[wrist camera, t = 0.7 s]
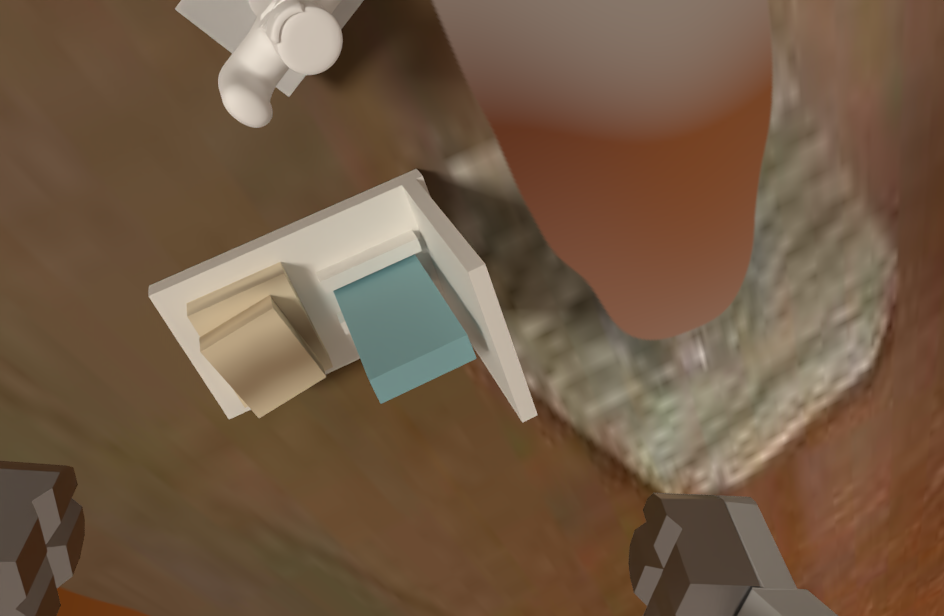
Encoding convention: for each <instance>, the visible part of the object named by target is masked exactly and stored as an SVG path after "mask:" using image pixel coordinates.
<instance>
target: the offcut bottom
mask: <svg viewBox="0 0 944 616" xmlns="http://www.w3.org/2000/svg"><path fill="white" fill-rule="evenodd" d="M269 295H270V296H271V297H272V298H273V300H274V301H275V302H276V304H277V305H278V306H279V308H280V309H281V310H282V311H283V313H284V314H285V315H286V317H287V318H288V319H289V321H290V322H291V323H292V324H293V326H294V327H295V328H296V330H297V331H298V332H299V334H300V335H301V336H302V338H303V339H304V340H305V341H306V343H307V344H308V345H309V347H310V348H311V349H312V351H313V352H314V353H315V354H316V356H317V357H318V358H319V360H320V361H321V362H322V365H323V368H324V371H326V370H328V369H330V368H332V367H333V365H332V363H331V360H330V357H329V354H328V352H327V350H326V348H325V346H324V344H323V342H322V340H321V338H320V336H319V335H318V333H317V331H316V329H315V327H314V325H313V323H312V321H311V319H310V317H309V315H308V313H307V312H306V310H305V308H304V306H303V304H302V302H301V300H300V298H299V296H298V294H297V292H296V290H295V288H294V287H293V285H292V283H291V281H290V279H289V277H288V275H287V273H286V271H285V269H284V267H283V265H282V264H281V262H279V263H276V264H274V265H272V266H270V267H267V268H265V269H263V270H261V271H258V272H256V273H254V274H252V275H249V276H247V277H245V278H243V279H240V280H238V281H236V282H234V283H231V284H229V285H227V286H225V287H222V288H220V289H218V290H216V291H213V292H211V293H209V294H206V295H204V296H202V297H200V298H197V299H195V300H193V301H191V302H188V303H186V304H187V317H188V319H189V320H190V322H191V323H192V325H193V327H194V328H195V330H196V331H197V333H198V334H199V336H200V337H201V336H203V335H204V334H206V333H208V332H209V331H211V330H213V329H214V328H216V327H218V326H219V325H221V324H223V323H224V322H226V321H228V320H229V319H231V318H232V317H234V316H236V315H237V314H239V313H241V312H242V311H244V310H246V309H247V308H249V307H251V306H252V305H254V304H256V303H257V302H259V301H261V300H262V299H264V298H265V297H267V296H269ZM234 392H235V391H234ZM235 393H236V392H235ZM236 395H237V396H238V398H239V399H240V401H241V403H242V404H243V406H244V407H245V408H246V407H248V405H247V404H246V403H245V402H244V401H243V400H242V399H241V397H240V396H239V395H238V394H237V393H236Z"/></svg>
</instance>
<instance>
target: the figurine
mask: <svg viewBox="0 0 944 616" xmlns="http://www.w3.org/2000/svg"><path fill="white" fill-rule="evenodd" d="M363 1H364V0H181V1H180V3H179V4H178V5H177V7H176V8H175V10H176V11H178V12H179V13H180V14H182V15H183V16H184V17H186V18H187V19H188V20H189V21H191V22H192V23H193V24H195V25H196V26H197V27H199V28H200V29H201V30H202V31H204V32H205V33H206V34H208V35H209V36H210V37H212V38H213V39H214V40H215V41H217V42H218V43H219V44H221V45H222V46H223V47H225V48H226V49H227V50H228V51H230V52H231V53H232V55H231V56H230V58H229V59H228V60H227V61H226V63H225V64H224V66H223V67H222V69H221V71H220V74H219V78H218V86H219V90H220V94H221V98H222V102H223V104H224V106H225V108H226V109H227V111H228V112H229V113H230V114H231V115H232V116H233V117H234V118H235V119H236V120H238V121H239V122H241V123H243V124H245V125H247V126H250V127H255V128H259V127H263V126H265V125H267V124H268V123H269V122H270V120H271V118H272V106H271V104H270V98H271V95H272V93H273V91H274V89H275V87H277V88H278V89H279V90H280V91H282V92H283V93H284V94H286V95H287V96H288V97H289V96H290V95H291V94H292V92H293V91H294V90H295V89H296V87H297V86H298V85H299V83H300V82H301V81H302V80H303V78H304V77H305V76H306V75H314V74H319V73H322V72H324V71H326V70H327V69H329V68H330V67H331V66H332V65H333V64H334V63H335V62H336V60H337V59H338V57H339V55H340V53H341V49H342V43H343V37H342V31H341V29H342V28H343V27H344V25H345V24H346V23H347V21H348V20H349V19H350V18H351V16H352V15H353V14H354V12H355V11H356V10H357V9H358V7H359V6H360V5H361V3H362V2H363Z"/></svg>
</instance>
